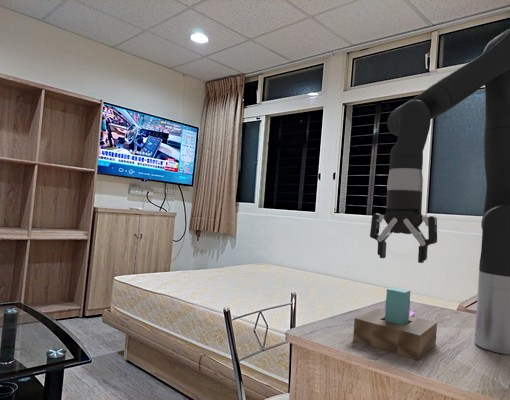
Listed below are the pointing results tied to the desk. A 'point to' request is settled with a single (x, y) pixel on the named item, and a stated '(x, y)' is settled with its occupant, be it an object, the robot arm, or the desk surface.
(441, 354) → the desk surface
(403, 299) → the peg
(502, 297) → the robot arm
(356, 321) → the socket block
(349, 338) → the desk surface
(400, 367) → the desk surface
